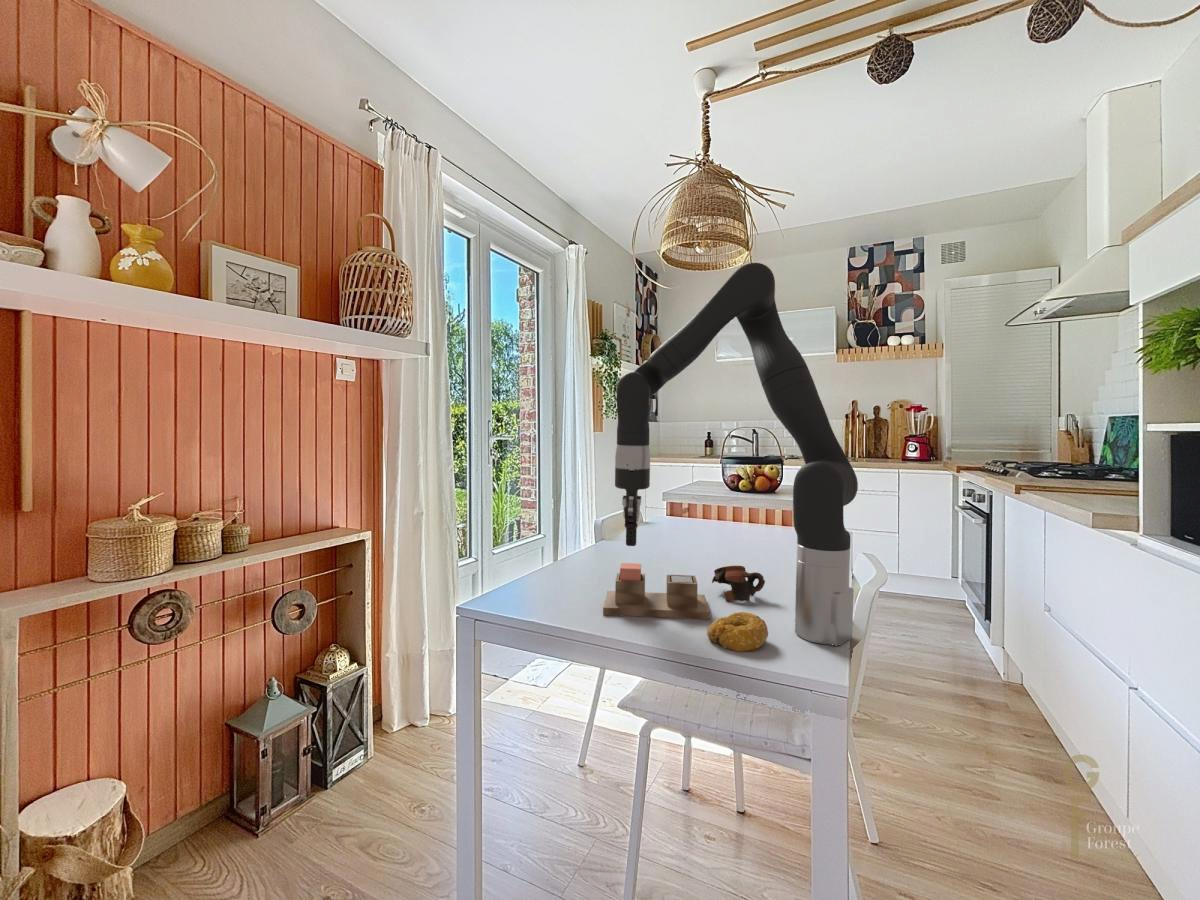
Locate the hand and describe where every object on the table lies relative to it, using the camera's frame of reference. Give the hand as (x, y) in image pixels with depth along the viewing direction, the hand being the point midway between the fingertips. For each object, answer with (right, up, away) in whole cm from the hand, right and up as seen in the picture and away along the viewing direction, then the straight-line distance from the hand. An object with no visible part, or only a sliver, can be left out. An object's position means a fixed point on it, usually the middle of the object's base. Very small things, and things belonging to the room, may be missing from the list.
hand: (631, 545), depth 114 cm
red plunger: (0, -10, 0) cm, 10 cm away
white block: (+11, -12, -1) cm, 16 cm away
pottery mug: (+25, -14, +8) cm, 30 cm away
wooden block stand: (+5, -14, 0) cm, 15 cm away
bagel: (+18, -15, -17) cm, 29 cm away
